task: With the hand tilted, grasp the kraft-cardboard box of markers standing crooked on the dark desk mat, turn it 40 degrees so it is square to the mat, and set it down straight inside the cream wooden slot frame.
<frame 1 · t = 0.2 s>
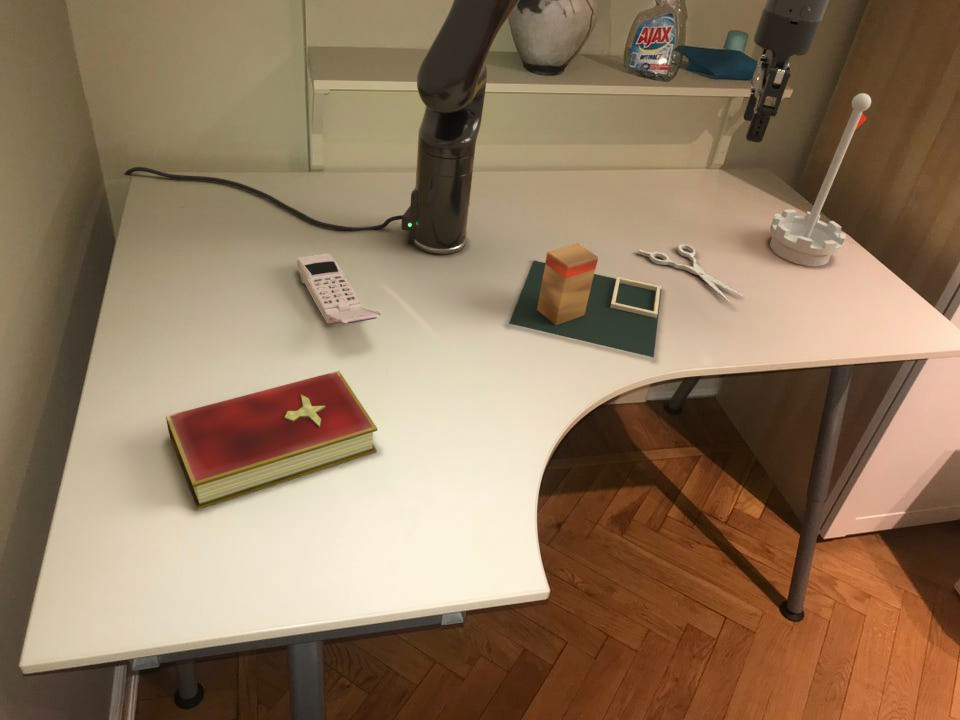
hand: (751, 130, 110), 29 cm above the table, tool pointing down, fingers open, 8 cm apart
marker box: (560, 312, 119), resting on mat
hardcover book: (274, 446, 91), on the table
scissors: (697, 275, 134), on the table
flag stand: (798, 251, 145), on the table
mat: (588, 307, 122), on the table
mobile phone: (333, 305, 115), on the table
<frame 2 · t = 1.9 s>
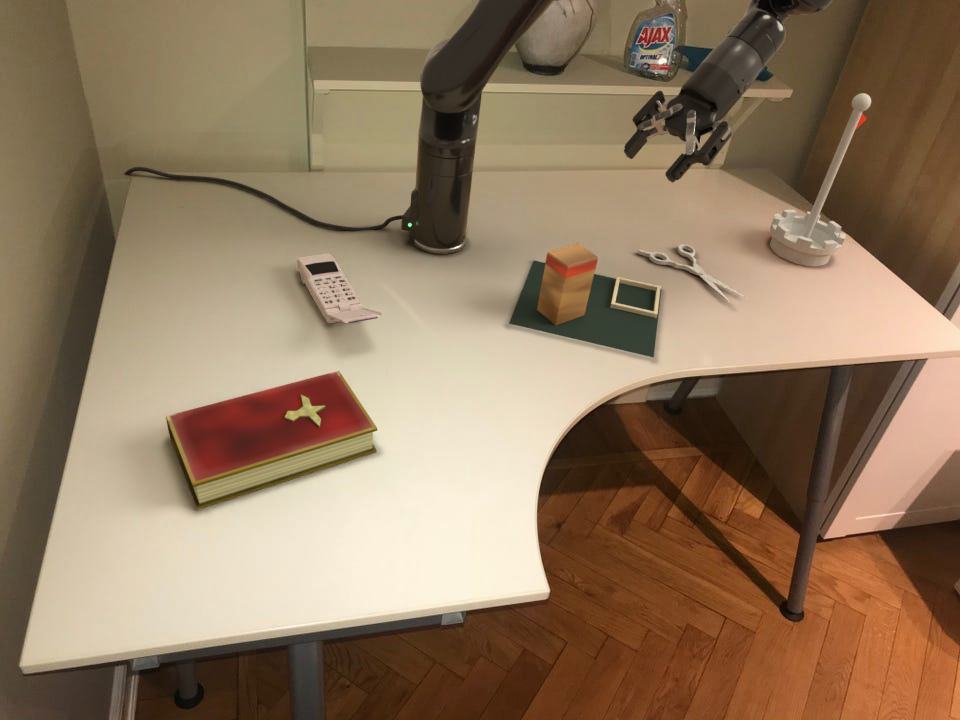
hand: (647, 166, 111), 23 cm above the table, tool tilted 45°, fingers open, 8 cm apart
nothing on the table moved.
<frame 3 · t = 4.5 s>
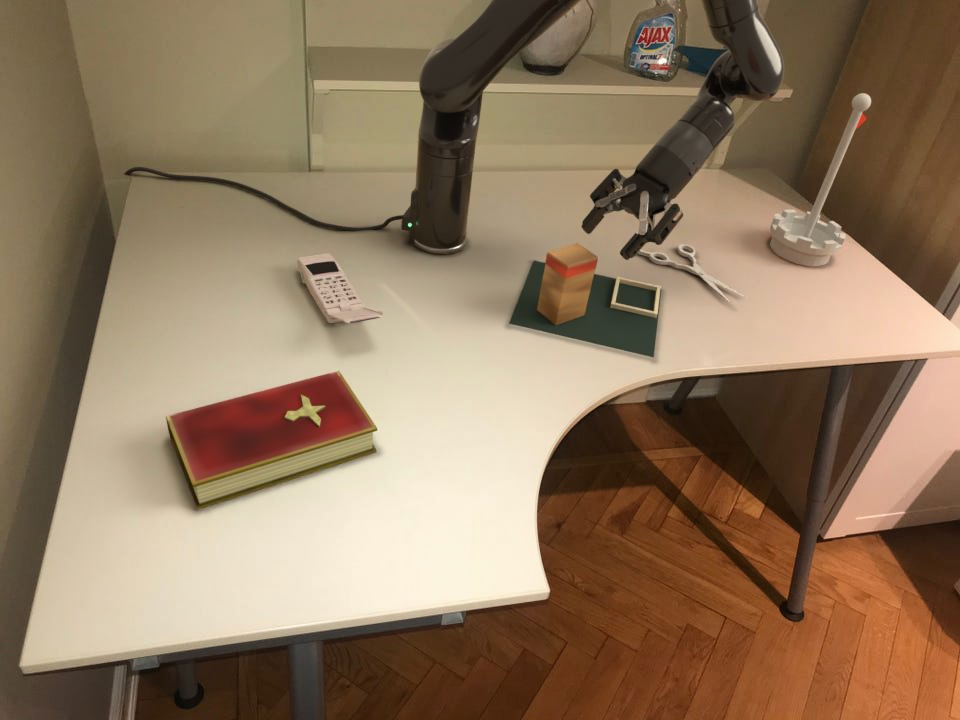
hand: (603, 243, 115), 11 cm above the table, tool tilted 45°, fingers open, 8 cm apart
nothing on the table moved.
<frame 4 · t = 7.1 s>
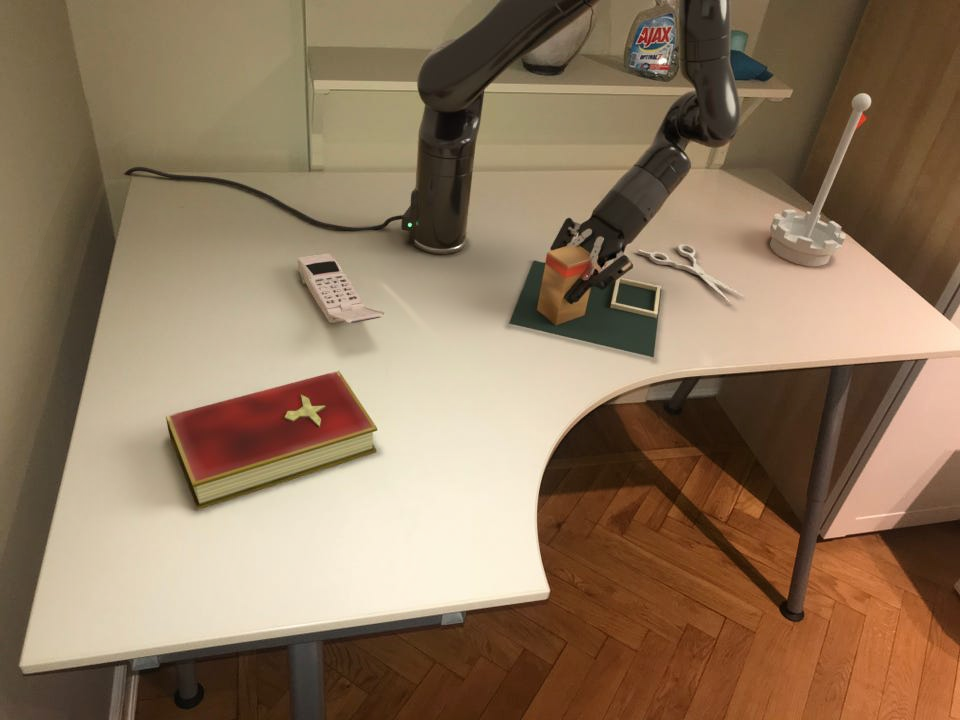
hand: (556, 292, 115), 5 cm above the table, tool tilted 45°, fingers closed on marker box, 4 cm apart
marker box: (560, 312, 119), point 1 cm above the table, touching gripper, mat
everything else where it was.
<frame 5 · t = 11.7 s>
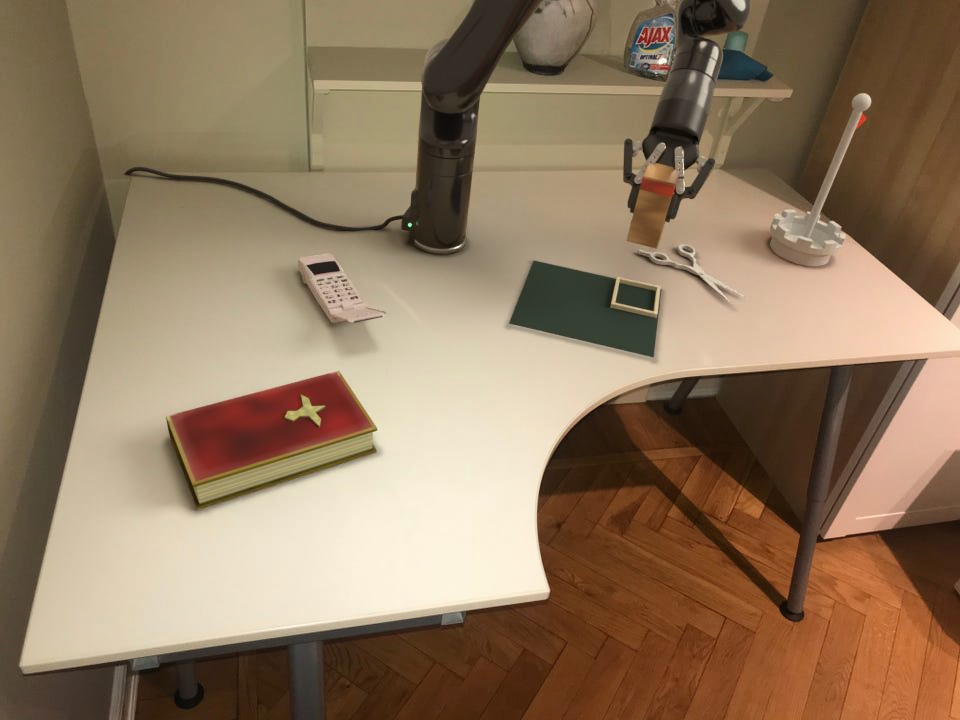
hand: (650, 215, 112), 17 cm above the table, tool tilted 45°, fingers closed on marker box, 4 cm apart
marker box: (644, 236, 116), point 13 cm above the table, touching gripper
everything else where it was.
when the fingers open (5 cm above the table, at t = 16.1 s): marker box stays where it is, resting on mat.
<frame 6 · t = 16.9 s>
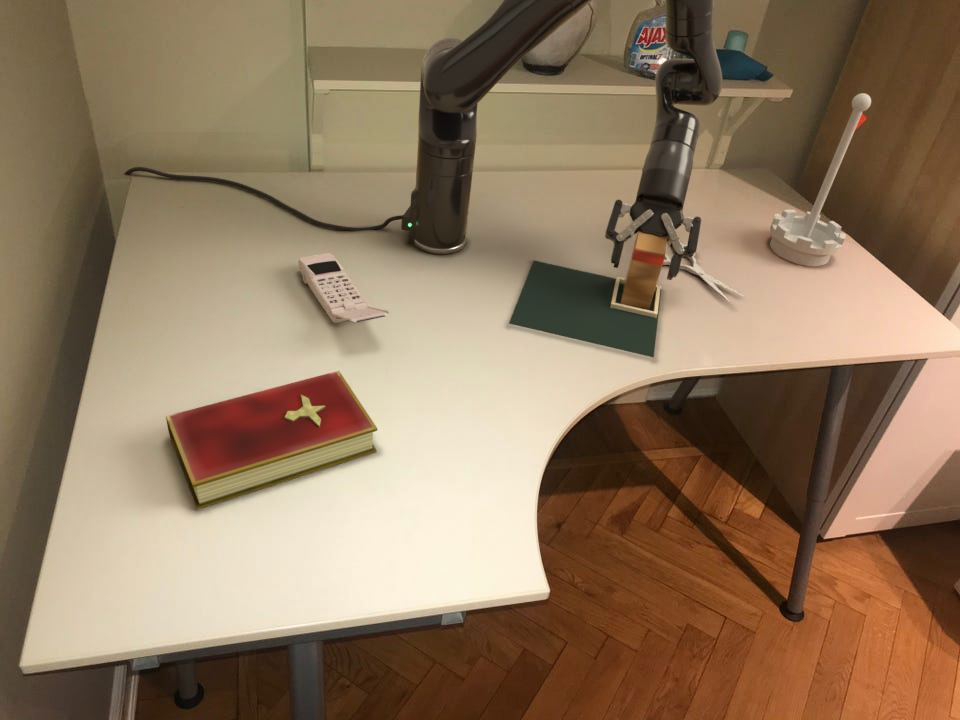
hand: (642, 272, 120), 6 cm above the table, tool tilted 45°, fingers open, 8 cm apart
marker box: (635, 298, 124), resting on mat
everything else where it was.
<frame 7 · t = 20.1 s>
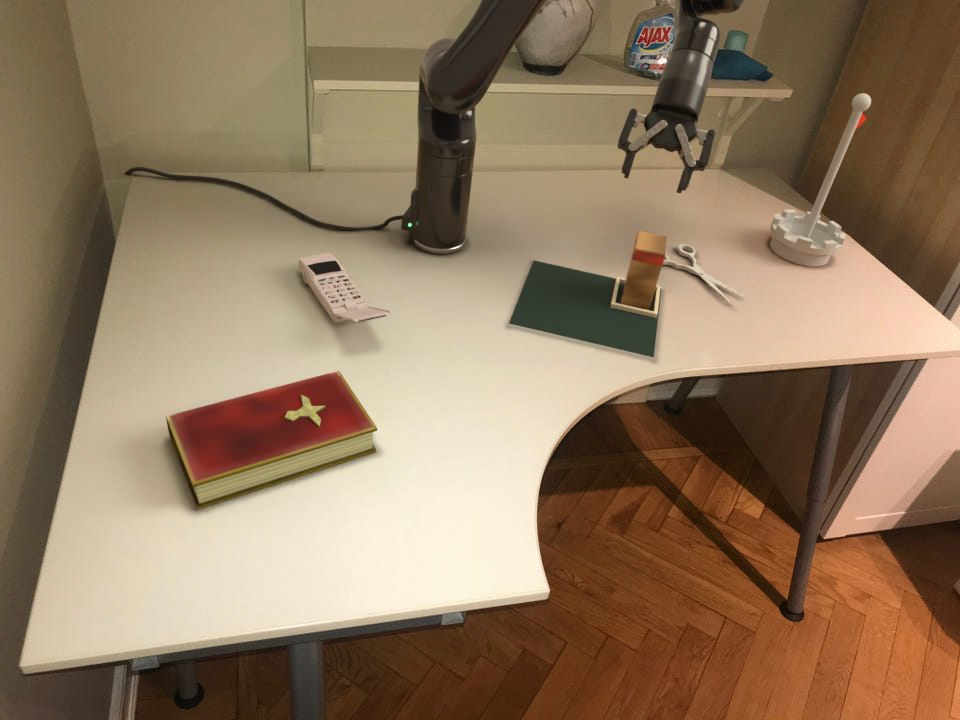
hand: (652, 184, 120), 17 cm above the table, tool tilted 40°, fingers open, 8 cm apart
nothing on the table moved.
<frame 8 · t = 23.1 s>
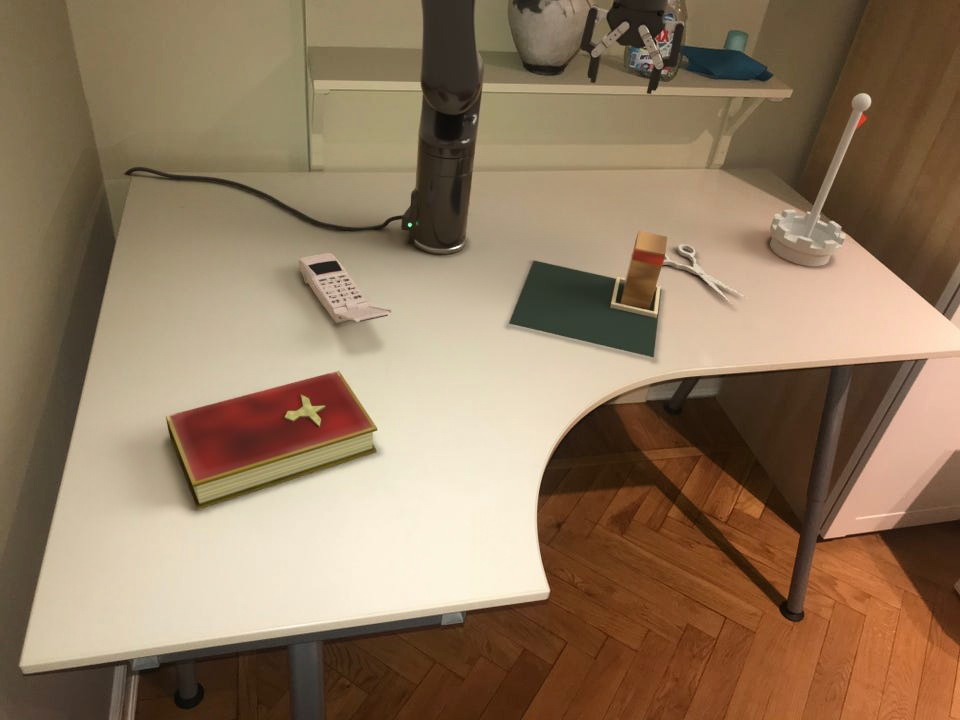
hand: (621, 87, 115), 30 cm above the table, tool pointing down, fingers open, 8 cm apart
nothing on the table moved.
at the end: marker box 0.1 cm from the target spot on the mat, point 0.5 cm above the mat's base; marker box tilted 0°; the gripper is holding nothing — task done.
